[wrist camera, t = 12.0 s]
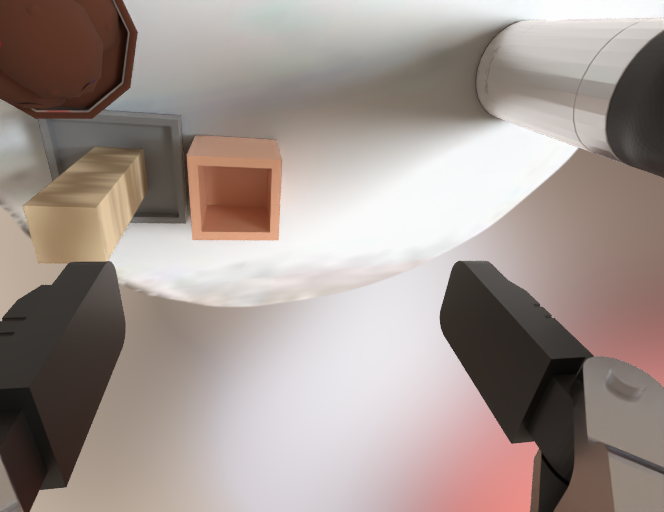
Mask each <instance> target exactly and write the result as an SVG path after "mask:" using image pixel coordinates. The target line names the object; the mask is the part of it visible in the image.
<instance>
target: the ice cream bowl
mask: <svg viewBox="0 0 664 512" xmlns="http://www.w3.org/2000/svg"><path fill="white" fill-rule="evenodd" d="M137 33H138V32H137V30H136V28H135V26H134V24H133V22H132V19H131V17H130V15H129V13H128V11H127V9H126V7H125V5H124V2H123V0H0V99H2V100H4V101H6V102H8V103H9V104H11V105H13V106H15V107H16V108H18V109H20V110H22V111H24V112H25V113H27V114H29V115H31V116H32V117H34V118H36V119H93V118H94V117H95V116H96V115H98V114H99V113H100V112H101V111H102V110H104V109H105V108H106V107H107V106H108V105H110V104H111V103H112V102H113V101H115V100H116V99H117V98H118V97H119V96H121V95H122V94H123V93H124V92H125V91H127V90H128V89H129V88H130V85H131V78H132V70H133V63H134V55H135V48H136V40H137Z"/></svg>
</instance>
